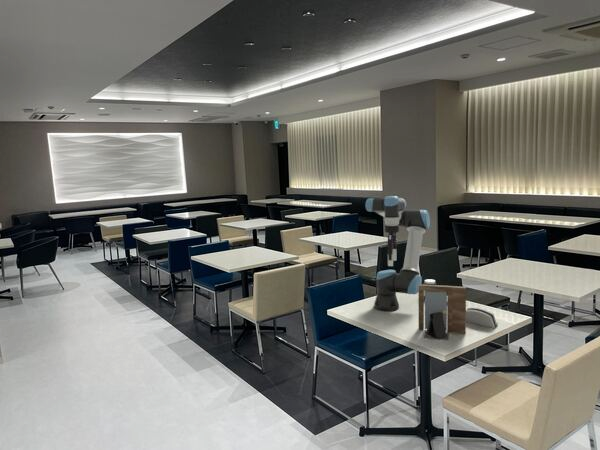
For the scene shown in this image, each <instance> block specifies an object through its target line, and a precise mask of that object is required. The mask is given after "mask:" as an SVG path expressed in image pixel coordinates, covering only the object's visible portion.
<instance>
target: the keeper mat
mask: <svg viewBox="0 0 600 450" xmlns="http://www.w3.org/2000/svg"><path fill="white" fill-rule="evenodd" d="M426 332H427V330H425V331H424V336H423V339H427V340H438V341H449V340H450V333H447V332H446V334H447V337H446V338H441V339H436V338H434V337H432V336H430V335H428V334H426Z"/></svg>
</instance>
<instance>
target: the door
mask: <svg viewBox="0 0 600 450" xmlns="http://www.w3.org/2000/svg"><path fill="white" fill-rule="evenodd" d="M437 312H440V313H441V312H442V313H443V320H444V325H445V329H446V332H447V292H443V291H426V290H425V298H424V330H427V328H428V324H429V321H430V314H432V313H437Z"/></svg>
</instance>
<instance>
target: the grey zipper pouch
mask: <svg viewBox="0 0 600 450" xmlns="http://www.w3.org/2000/svg"><path fill="white" fill-rule="evenodd" d="M466 322H469V323H472V324H476V325H480V326H484V327H488V328H492V329H495V328H496V326H497V327H498V326H499V323H498V322H497V320H496V318H495V314H494V312H493V313H492V312H491V311H489V310H487V309H483V308H482V307H481V308H480V307H468V308H466Z"/></svg>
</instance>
